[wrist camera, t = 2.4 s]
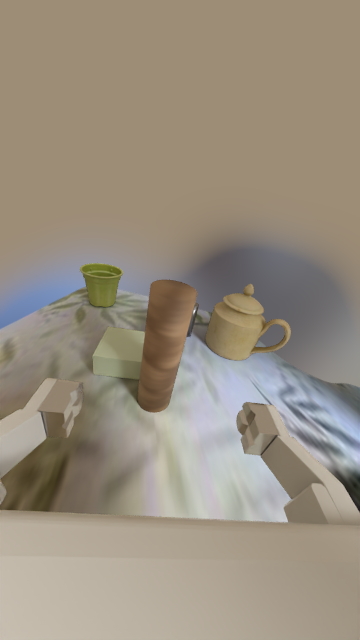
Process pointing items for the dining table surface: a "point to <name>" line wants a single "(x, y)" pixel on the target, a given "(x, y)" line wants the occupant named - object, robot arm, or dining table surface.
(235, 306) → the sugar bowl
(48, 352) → the dining table surface
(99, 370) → the block
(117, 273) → the plant pot
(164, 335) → the brown wooden cylinder
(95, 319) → the dining table surface
